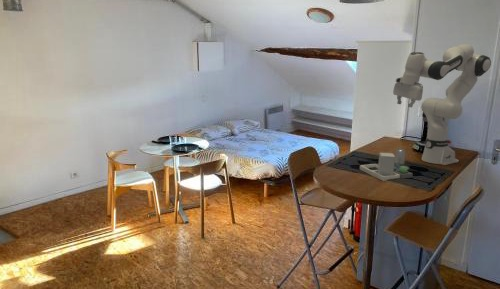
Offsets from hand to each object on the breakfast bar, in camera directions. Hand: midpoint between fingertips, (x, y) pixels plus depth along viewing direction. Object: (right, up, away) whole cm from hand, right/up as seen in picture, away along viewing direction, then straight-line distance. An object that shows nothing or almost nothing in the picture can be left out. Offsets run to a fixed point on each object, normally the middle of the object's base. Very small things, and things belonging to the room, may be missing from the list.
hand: (404, 105), depth 222 cm
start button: (-4, -38, -8) cm, 39 cm away
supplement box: (-14, -40, -8) cm, 43 cm away
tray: (-1, -37, +6) cm, 37 cm away
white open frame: (-16, -39, -3) cm, 42 cm away
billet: (-1, -36, +6) cm, 36 cm away
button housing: (-4, -40, -8) cm, 41 cm away
